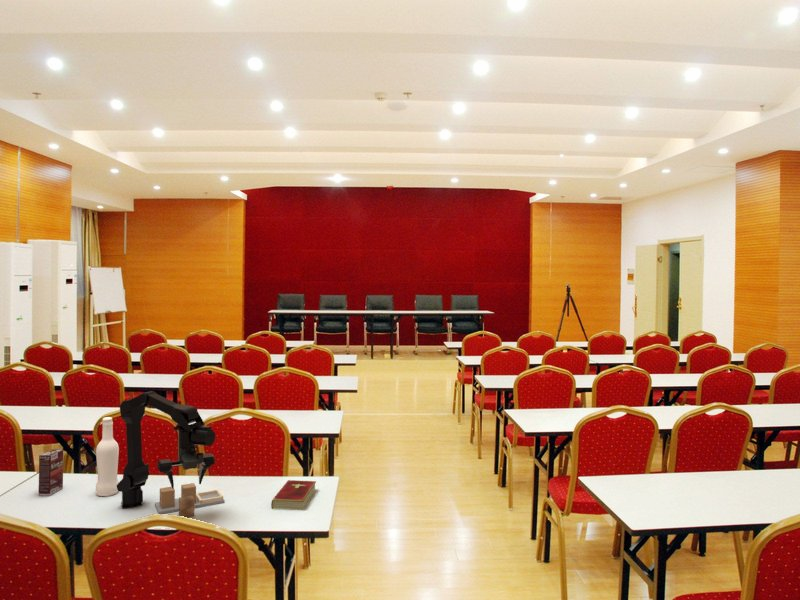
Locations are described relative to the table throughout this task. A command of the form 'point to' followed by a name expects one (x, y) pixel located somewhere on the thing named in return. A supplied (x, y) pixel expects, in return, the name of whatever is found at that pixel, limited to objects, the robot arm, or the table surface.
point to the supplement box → (50, 472)
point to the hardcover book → (293, 495)
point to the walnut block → (186, 506)
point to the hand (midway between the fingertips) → (186, 486)
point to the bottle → (107, 461)
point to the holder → (172, 504)
